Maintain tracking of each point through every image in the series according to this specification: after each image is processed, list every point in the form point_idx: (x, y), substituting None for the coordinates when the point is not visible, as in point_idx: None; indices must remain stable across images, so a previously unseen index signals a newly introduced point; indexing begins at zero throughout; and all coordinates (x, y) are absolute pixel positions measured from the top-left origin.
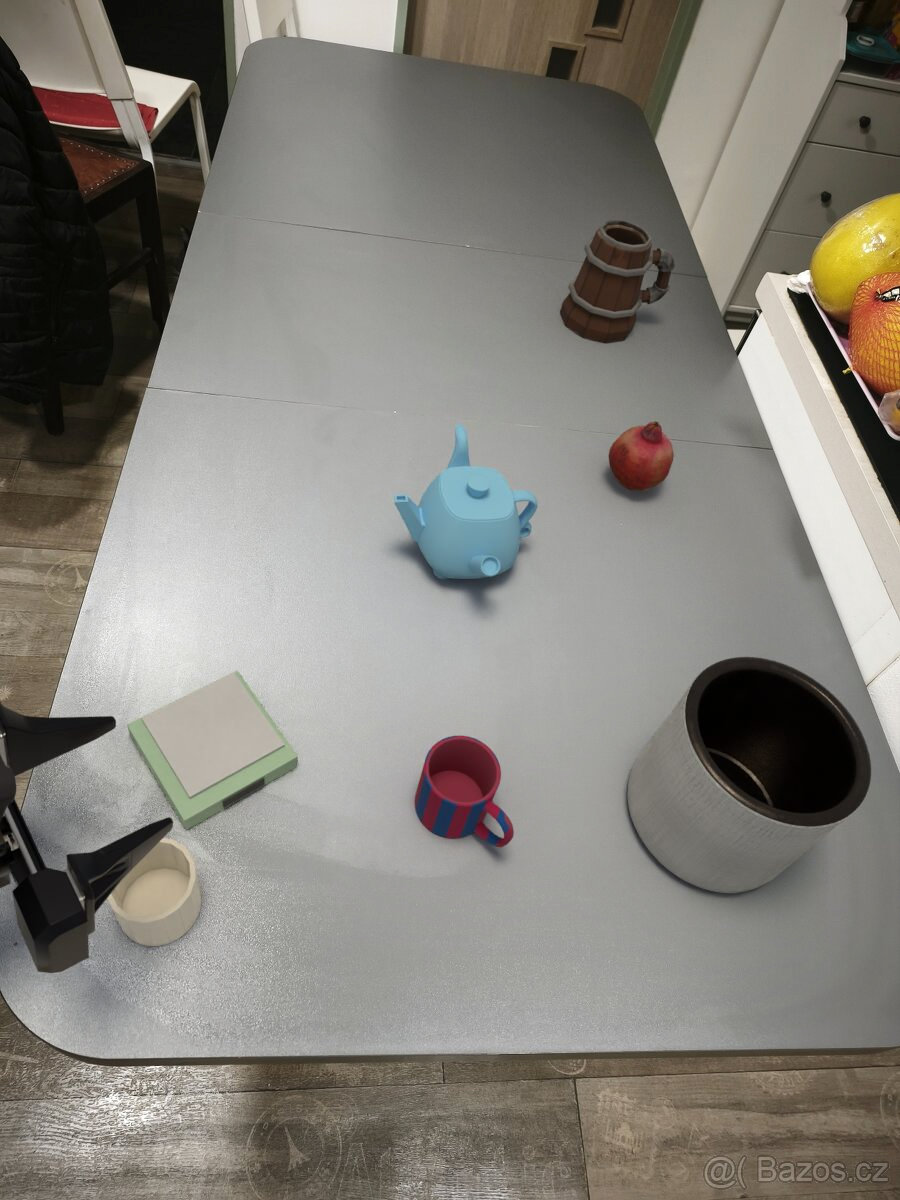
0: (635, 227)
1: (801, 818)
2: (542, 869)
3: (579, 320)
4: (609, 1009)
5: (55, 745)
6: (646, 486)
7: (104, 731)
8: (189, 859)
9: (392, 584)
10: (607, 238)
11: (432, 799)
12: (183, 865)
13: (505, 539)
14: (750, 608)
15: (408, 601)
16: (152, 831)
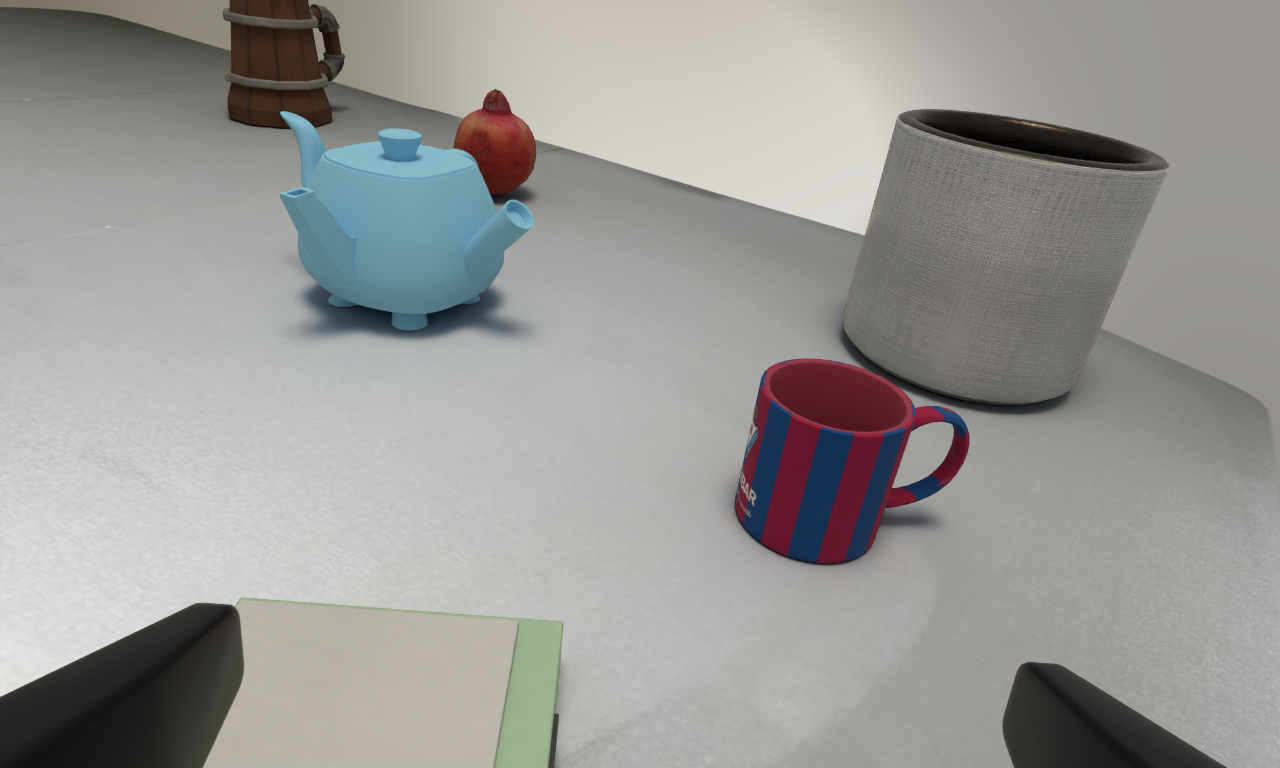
0: None
1: (1158, 161)
2: (971, 495)
3: (268, 107)
4: (1227, 554)
5: None
6: (527, 171)
7: (209, 719)
8: None
9: (359, 365)
10: None
11: (856, 463)
12: None
13: (489, 202)
14: (721, 227)
15: (409, 369)
16: (1166, 743)
